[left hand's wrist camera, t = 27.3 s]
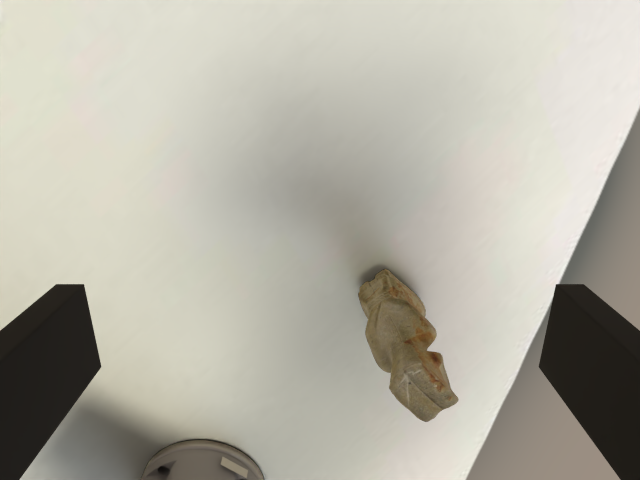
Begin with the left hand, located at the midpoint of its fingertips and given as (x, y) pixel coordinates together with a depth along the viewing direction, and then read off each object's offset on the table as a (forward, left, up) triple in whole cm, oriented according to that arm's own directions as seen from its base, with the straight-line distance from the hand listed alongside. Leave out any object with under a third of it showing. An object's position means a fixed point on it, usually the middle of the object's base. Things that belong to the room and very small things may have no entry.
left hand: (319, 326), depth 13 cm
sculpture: (-13, -10, -31) cm, 35 cm away
